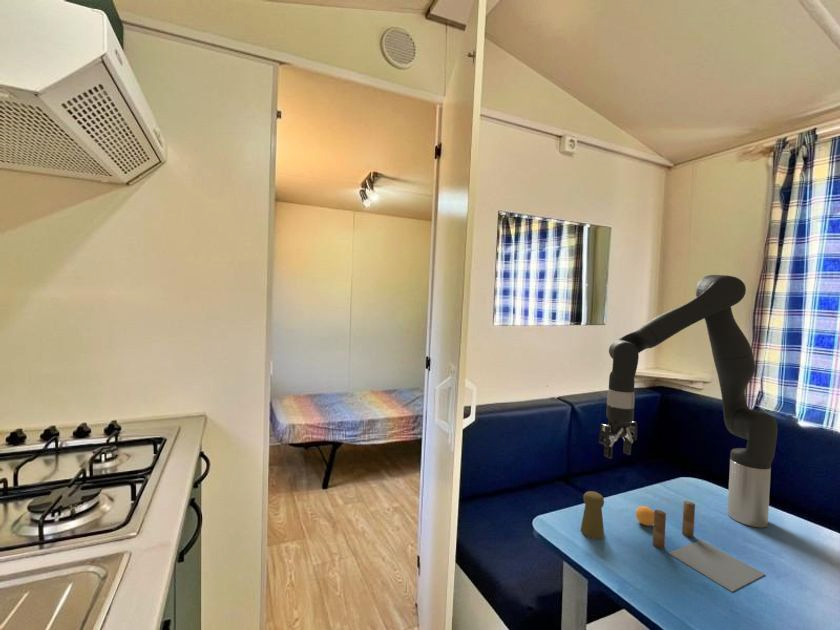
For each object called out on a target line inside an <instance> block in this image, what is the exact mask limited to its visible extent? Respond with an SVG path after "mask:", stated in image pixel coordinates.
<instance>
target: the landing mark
mask: <svg viewBox="0 0 840 630" xmlns="http://www.w3.org/2000/svg"><path fill="white" fill-rule="evenodd" d="M668 555H670V556H672V557H673V558H675V559H677V560H678V561H680V562H681V563H683V564H685V565H686V566H689V567H690V568H692V569H693V570H695V571H696V572H698V573H699V574H701V575H703V576H705V577H707V578H708V579H709V580H711V581H713V582H715V583H716V584H718V585H720V586H721V587H723V588H724V589H726V590H727V591H729V592H731V593H733V592H736V591H737V590H739V589H741V588H743V587H745V586H747V585H749V584H751V583H752V582H753V583H754V582H755V581H757V580H758V579H761V578H763V577H764V576H766V573H764V572H762V571H760V570H759V569H756V568H755V567H753V566H751V565H749V564H747V563H746V562H743V561H742V560H740V559H738V558H736V557H734V556H732V555H730V554H728V553H726V552H725V551H722V550H721V549H719V548H717V547H715V546H713V545H711V544H709V543H708V542H706V541H704V540H702V539H699V540H697V541H695V542H692V543H689V544H687V545H685V546H682V547H679V548H677V549H675V550H672V551H670V552H668Z"/></svg>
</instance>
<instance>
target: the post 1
mask: <svg viewBox="0 0 840 630" xmlns="http://www.w3.org/2000/svg"><path fill="white" fill-rule="evenodd" d="M653 512H654V524H653V532H652V533H653V534H652V545H653V547H654V548H657V549H659V550H663V549H665V542H666V523H667V522H666V521H667V519H666V518H667V514H666V512H665V511H663V510H659V509H654V510H653Z"/></svg>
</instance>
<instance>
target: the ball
mask: <svg viewBox="0 0 840 630" xmlns="http://www.w3.org/2000/svg"><path fill="white" fill-rule="evenodd" d="M635 517H636V519H637V520H638V521H637V522H638V523H640V524H641V525H644V526H646V527H647V526H648V527H650V526H652V525H653V526H654V510H653V509H652V508H651V507H648V506H644V505H642V506H638V507H637V509H636V511H635Z"/></svg>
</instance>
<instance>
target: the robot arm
mask: <svg viewBox="0 0 840 630" xmlns="http://www.w3.org/2000/svg"><path fill="white" fill-rule="evenodd" d="M746 291H747V289H746V285H745V282H743V280H742V279H740V278H739V277H737V276H733V275H726V274H724V275H723V274H721V275H720V274H708V275H705V276H703V277H702V278H700V280H699V281H698V282H697V284H696V287H695V296H696V297H695V298H693V299H692V300H691V301H688V302H687V303H685V304H683V305H680V306H678V307H675V308H674V309H673V308H672V309H671V310H668V311H666V312H663V313H661V314H660V315H658V316H656V317H654V318H652V319H651V320H649V321H648V322H646V323H645V324H642V326H640V327H638V328H637V329H636V330H633V331H631V332H630V333H627V334H625V335H624V336H622V337H619V338H617V340H615V341H613V342H612V343H611V344H610V346H609V348H608V353H609V356H610V358H611V359H612V370H611V372H610V373H609V378H608V391H607V397H606V415H605V416H606V418H607V420H608V423H607V424H604V423H601V424H600V426H599V428H600V430H599V437H598V443H599V444H602V445H603V448H604V449H603V455H604V457H605V458H607V459H613V451H614V450H613V446H614V444H615V442H617V441H618V440H619V439H620V438H622V439H623V445H622V453H623V454H625V455H627V456H629V455H631V454H632V444H633V443H634V441H637V440H638V422H637V421H634V417H635V416H634V415H635V385H636V384H635V378H636V377H635V376H636V374H637V373H636V372H637V368H638V364H639V360H640V359H639V357H640V356H639V354H640V353H642V352H643V351H645V350H648V349H651V348H655V347H656V346H659V345H660V344H661V343H664V342H665V341H666V340H668V339H669V338H671V337H673V336H674V335H676V334H678V333H680V332H681V331H682V330H684V329H687V328H688V327H690V326H692V325H694V324H696V323H698V322H700V321H702V320H704V321H705V324H706V329H707V334H708V338H709V343H710V347H711V353H712V354H711V355H712V358H713V362H714V366H715V370H716V374H717V378H718V383H719V389H720V394H721V402H722V411H723V420H724V424H725V428H726V429H727V431H729V432H728V433H730V434H731V435H734V436H735V437H738V438H741V439H744V440H747V443H746V448H745V447H744V448H743V447H737V448H732V449H731V450H730V453H729V455H730V456H729V474H728V475H729V476H728V478H729V479H728V495H727V497H728V499H727V515H728V516H729V517H730V518H731V519H733V520H734V521H736V522H739V523H740V524H743V525H745V526H749V527H753V528H766V527H768V525H769V509H770V507H769V506H770V505H769V504H770V492H771V491H770V489H771V472H772V470H771V469H772V462H773V461H774V458H775V455H776V446H777V440H778V439H777V437H778V424H777V421H776V419H775V417H774V416H772V415H771V414H769V413H767V412H763V411H759V410H755V409H751V408H749V407H748V404H747V401H746V399H747V398H746V393H745V392H746V389H747V386H748V385H749V383H750V381H751V380H752V378H753V377H754V375H755V372H756V363H755V358H754V354H753V350H752V347H751V344H750V342H749V340H748V338H747V337H746V335H745V334H744V332H743V331H742V330H741V328H740V326H739V325H738V323H737V322H736V319H735V317H734V314H733V310H732V307H733V306H735V305H737V304H739V303H740V302H741V301H742V300H743V299H744V298H745V295H746ZM632 433H633V435H632Z"/></svg>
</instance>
